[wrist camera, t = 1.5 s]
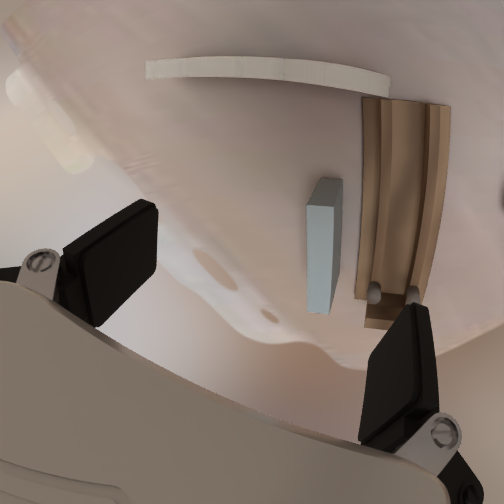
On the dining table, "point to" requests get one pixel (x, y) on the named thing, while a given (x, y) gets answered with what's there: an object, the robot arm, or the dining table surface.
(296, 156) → the dining table surface
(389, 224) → the rail
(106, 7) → the dining table surface
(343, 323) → the dining table surface
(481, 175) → the dining table surface
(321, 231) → the panel
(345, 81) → the sign
